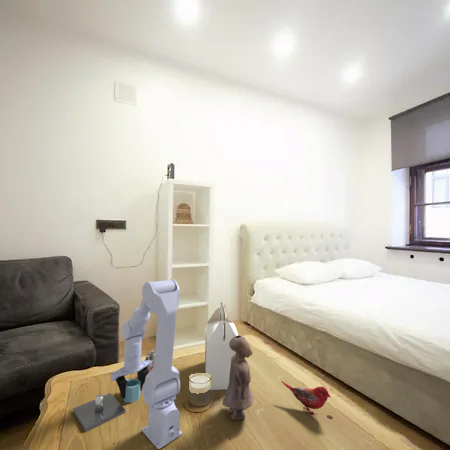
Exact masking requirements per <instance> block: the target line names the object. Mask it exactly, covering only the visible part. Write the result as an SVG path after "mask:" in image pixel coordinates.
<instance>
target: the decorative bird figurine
mask: <svg viewBox="0 0 450 450" xmlns="http://www.w3.org/2000/svg"><path fill="white" fill-rule="evenodd" d="M280 382H281V383H282V385H284V386H285V387H286V388H287V389H289V390H290V392H291V393H292V394H293V396H294V397H295V398H296V399H297V400H298V401H299V402H300V403H301V404H302V405H303V406H304V407H303V408H302V409H303V410H305V411H307V412H309V414H312V415H316V416H319V414H318V413H315V411H312V410H318V409H321V408H322V407H323V406H324V405H325V403H326V402H327V401H328V398H332V397H331V395H330V393H329V391H328V389H327V388H326V387H324V386H317V387H314V388H308V387H293V386H292V385H289V384H288V383H286V382H284V381H282V380H281V381H280Z"/></svg>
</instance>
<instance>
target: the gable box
mask: <svg viewBox="0 0 450 450" xmlns="http://www.w3.org/2000/svg"><path fill="white" fill-rule="evenodd" d="M238 335H239V333H238V330H237V327H236V325H235V323H234V321H233V320H232V318H231V317H230V315H229V313H228V310H227V307H226V304H224V305H223V302H220V307H218V308H217V309H215V311H214V312H213V313H212V315H211V316H210V318H209V319H208V321H207V323H205V346H204V353H205V354H204V371H205V372H206V373H208V374H210V375H211V377H212V379H211V387H210V390H209V391H223V390H224V391H226V390H227V388H228V384H229V375H230V366H231V358H232V355H233V354H235V353H236V352H235V351H233V350H232V349H231V348H230V346H229V343H230V340H231V339H232V338H233V337H235V336H238Z"/></svg>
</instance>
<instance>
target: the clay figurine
mask: <svg viewBox="0 0 450 450" xmlns="http://www.w3.org/2000/svg"><path fill="white" fill-rule="evenodd" d="M229 346H230V348H231V349H232V350H233V351H235V352H236V353H235V354H233V355H232V358H231V366H230V375H229V384H228V388H227V390H225V394H224V397H223V400H222V405H223V406H224V407H225V408H229V409H228V411H229V412H230V413H231V419H232V420H234V421H235V420H245V419H246V418H247V417H246V414H245V412H244V411H245V410H247V409H249V408H250V407H251V406H252V405H253V404H254V402H255V399H254V398H255V397H254V394H253V392H252V390H251V388H250V383H251V380H252V377H251V376H252V375H251V372H250V366H249V363H248V361H247V359H248V358H250V356H253V351H252V348H251V344H250V343H249V341H248V340H247V339H246V337H244V336H243V335H239V334H238V336H235V337H233V338H232V339H231V340H230V343H229ZM246 358H247V359H246Z"/></svg>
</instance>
